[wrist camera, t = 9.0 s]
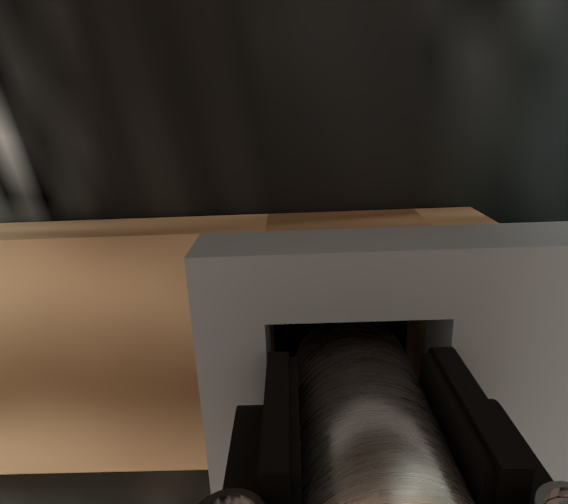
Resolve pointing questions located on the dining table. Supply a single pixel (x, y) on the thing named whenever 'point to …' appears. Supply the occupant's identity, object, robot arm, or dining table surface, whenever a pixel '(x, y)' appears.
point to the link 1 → (125, 336)
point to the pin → (369, 423)
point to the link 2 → (390, 312)
